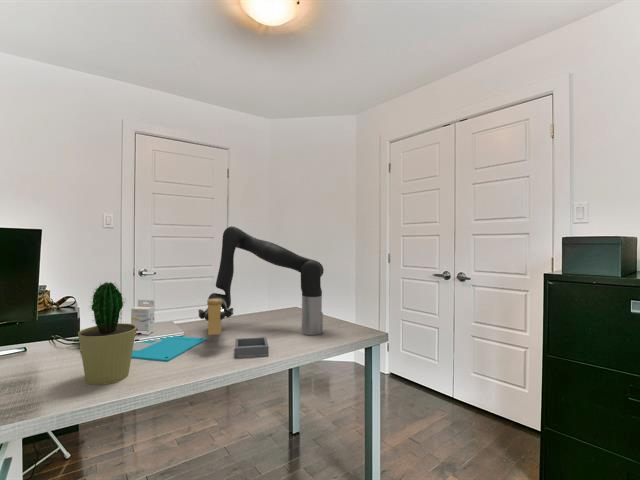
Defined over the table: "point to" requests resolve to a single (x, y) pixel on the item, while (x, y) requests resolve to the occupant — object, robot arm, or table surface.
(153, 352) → the teal flat board
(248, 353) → the housing
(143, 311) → the ink cartridge box
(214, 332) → the tan capped post
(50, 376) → the table surface
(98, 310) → the potted cactus
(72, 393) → the table surface
